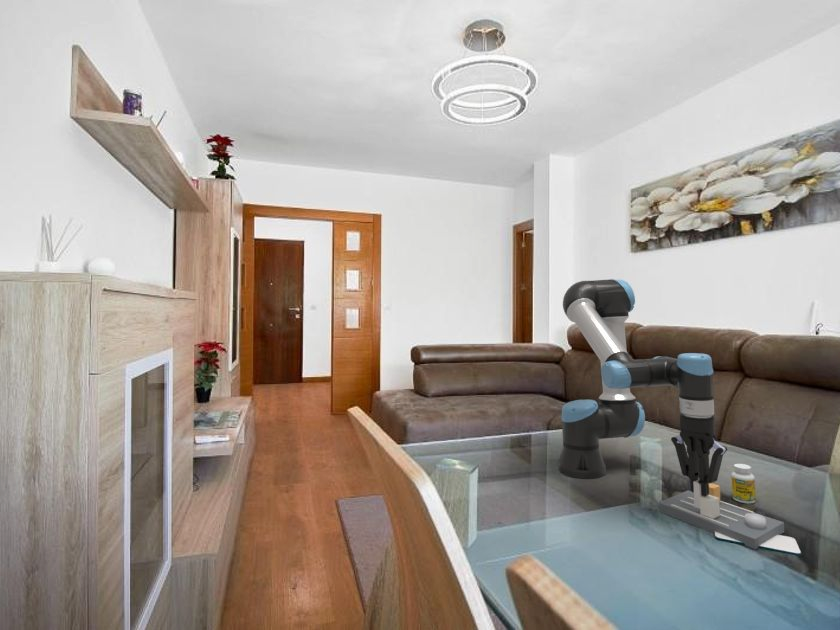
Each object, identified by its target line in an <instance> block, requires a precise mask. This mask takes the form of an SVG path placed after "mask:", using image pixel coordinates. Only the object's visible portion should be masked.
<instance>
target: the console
mask: <svg viewBox="0 0 840 630" xmlns="http://www.w3.org/2000/svg"><path fill="white" fill-rule="evenodd" d="M720 502H721V503H719V508H720V516H718V517H716V518H714V519H712V518H709V517H706V516H704V515H701V513H700V509H699V508H696V507H694V492H691V490H688V489H687V490H685V491H683V492H680V493H678V494H675V495H673V496H670V497H668V498H666V499H664V500H661V501H659V502H658V512H659V513H662V514H665V515H667V516H670V517H673V518H675V519H677V520H679V521H683V522H685V523H688V524H689V525H692V526H695V527H697V528H700V529H703V530H704V531H705V530H706V531H708V532H710V533H712V534H714V531H715V532H718V533H720V534H723V535H725V536H728V537H730V538H733V539H735V540H738V541H740V542H743V543H744V544H745V546H744V547H747V548H750V549H753V550H755V551H756V550H757V549H759V548H758V546H759V545H761V544H762V543H764V542H766V541H768V540H769V539H771V538H773V537H774V536H776V535H783V533H785V522H784V521H781V520H777V519H775V518H771V517H768V516H766V515H763V514H760V513H757V512H754V511H752V510H749V509H747V508H743V507H740V506H737V505H735V504H731V503H729V502H725V501H723V500H720Z"/></svg>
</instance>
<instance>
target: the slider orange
mask: <svg viewBox="0 0 840 630" xmlns="http://www.w3.org/2000/svg"><path fill="white" fill-rule="evenodd" d="M709 495H712V496H715V497H718V498H719V503H721V502H720V501H721V485H718V484H716V483H709Z"/></svg>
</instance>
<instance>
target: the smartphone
mask: <svg viewBox="0 0 840 630" xmlns="http://www.w3.org/2000/svg"><path fill="white" fill-rule="evenodd" d="M713 534H714V539H715V540H716V541H720V542H723V543H724V542H725V543H728V544H729V543H730V544H736V545H740V546H744V547H746V546H745V544H744V543H743V542H740V541H738V540H735V539H733V538H730V537H728V536H725V535H723V534H720V533H718V532H715V531H714V533H713ZM757 549H761V550H766V551H772V552H776V553H777V552H778V553H782V554H788V555H793V556H802V551H801V548H800V546H799V544H798V542H797V539H796V538H795V537H791V536H789V535H783V534H781V535H776V536H774V537H773V538H771V539H769V540H768V541H766V542H764V543H762V544H761V545H759V546H758V548H757Z"/></svg>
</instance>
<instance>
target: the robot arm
mask: <svg viewBox="0 0 840 630" xmlns="http://www.w3.org/2000/svg"><path fill="white" fill-rule="evenodd" d="M635 304H636V297H635V292H634V290H633V288H632V286H631V284H629V283H628V282H627V281H625V280H623V279H613V278H611V279H597V280H581V281H577V282H575V283H574V284H572V285H571V286H570V287H569V288H568V289H567V290H566V292H565V293H564V296H563V299H562V309H563V312H564V314H565V316H566V318H567V319H568V320H569V321H570V322H571V323H574V324H575V326H576V327H577V329H579V331H580V333H581V334H582V335H583V337H584V339H585V340H586V342H587V343H588V344H589V346H590V347H591V349H592V350H593V352H594V353H595V355H596V357H597V358H598V359H599V362H600V374H601V375H600V376H601V382H602V393H601V394H600V395H599V397H598V402H597V401H596V400H594V399H588V398H587V399H577V400H576V399H575V400H572V401H571V400H570V401H568V402H566V403H565V404H563V406H562V408H561V428H562V429H561V431H562V433H561V434H562V450H561V453H560V457H559V459H558V470H559V472H561V474H563V475H566V476H568V477H572V478H577V479H587V480H588V479H597V478H601V477H603V476H605V475H606V473H607V469H606V468H607V465H606V463H605V462H604V459H603V456H602V453H601V450H600V440H604V439H616V438H618V439H619V438H625V439H626V438H630V437H636V436H638V435H639V434H641V432H642V431H643V430H644V427H645V423H646V415H645V414H646V413H645V410H644V409H643V405H642V404H641V403H640V402H639V401H636V396H635V395H633V393H632V392H631V389H634V388H644V387H645V388H647V387H662V386H671V387H676V388H678V399H679V400H678V401H679V412H680V413H681V414H680V415H679V427H680V429H681V430H680V432H679V435H675V436H672V437H671V438H670V440H671V442H672V444H673V445H674V447H675V452H676V455H677V459H678V463H679V467H680V470H681V474H682V475H683V477H684V476H685V477H687V478H688V479H689V482H690V491H691V492H694V507H696V508H699V509H700V496H707V495H709V483H712V484H714V483H715V482H717V481H718V477H719V474H720V470H721V465H722V461H723V456H724V455H725V454H726V453H727V451H728V447H727V446H725V445H723V446H722V445H721V444H720V443H719V442H717V438H716V436H715V432H716V425H715V419H716V418H715V416H714V415H715V402H714V397H715V396H714V368H713V361H712V357H711V356H710V355H709V354H706V353H698V352H697V353H696V352H688V353H680V354H678V355H677V358H673V357H670V356H655V357H652V358H644V359H633V357H632V356H631V355H630V353H628V351H627V340H626V328H625V327H626V326H625V323H626V321H627V320H628V318H629V317H630V316H629V313H630V312H632V311H633V310H634V308H635ZM711 449H712V452H713V454H712V456H711V459H710V454H711Z"/></svg>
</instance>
